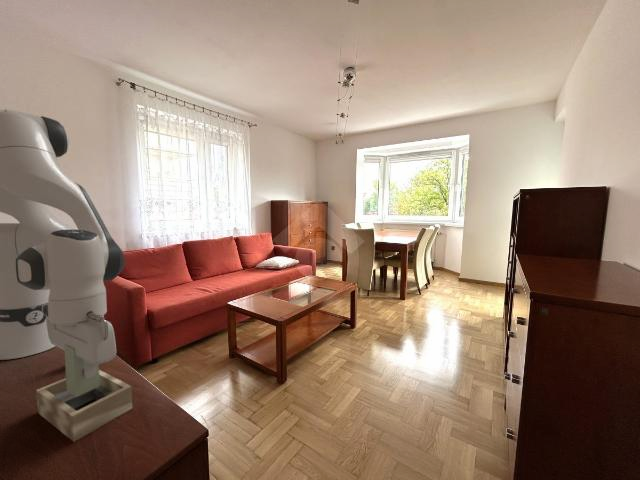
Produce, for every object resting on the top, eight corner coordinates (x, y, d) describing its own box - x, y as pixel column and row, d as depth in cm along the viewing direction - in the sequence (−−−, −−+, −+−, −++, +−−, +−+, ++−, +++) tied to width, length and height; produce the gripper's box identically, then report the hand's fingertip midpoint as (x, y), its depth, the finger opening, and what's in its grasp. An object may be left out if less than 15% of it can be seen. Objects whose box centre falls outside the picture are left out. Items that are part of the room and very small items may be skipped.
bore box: (37, 412, 56) (36, 390, 56) (94, 386, 65) (93, 366, 65) (73, 442, 49) (72, 416, 49) (132, 408, 58) (131, 386, 57)
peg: (66, 391, 55) (64, 344, 55) (90, 381, 59) (88, 337, 58) (75, 397, 54) (73, 349, 53) (99, 386, 57) (97, 341, 56)
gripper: (124, 312, 53) (127, 378, 54) (75, 297, 62) (78, 354, 63) (85, 322, 48) (89, 396, 49) (38, 305, 57) (42, 367, 58)
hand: (82, 372), depth 56 cm, fingers closed on peg, 4 cm apart
